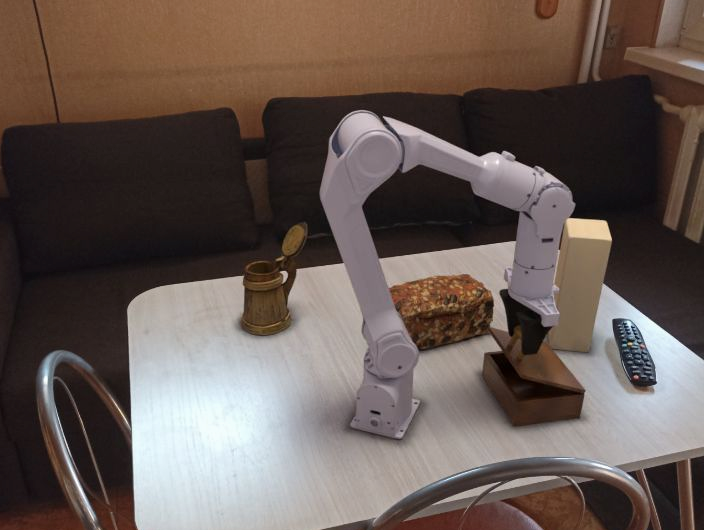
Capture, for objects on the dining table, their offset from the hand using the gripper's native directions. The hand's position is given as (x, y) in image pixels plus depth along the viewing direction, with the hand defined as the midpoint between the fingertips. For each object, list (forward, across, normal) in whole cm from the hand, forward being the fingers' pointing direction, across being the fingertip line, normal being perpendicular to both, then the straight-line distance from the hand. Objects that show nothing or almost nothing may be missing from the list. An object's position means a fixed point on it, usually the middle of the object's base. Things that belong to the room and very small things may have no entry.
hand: (522, 344), depth 103 cm
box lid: (+3, 0, -2) cm, 4 cm away
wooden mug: (+10, +31, +34) cm, 47 cm away
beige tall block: (+10, +14, -16) cm, 23 cm away
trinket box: (+10, 0, -2) cm, 10 cm away
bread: (+10, +21, +7) cm, 24 cm away
